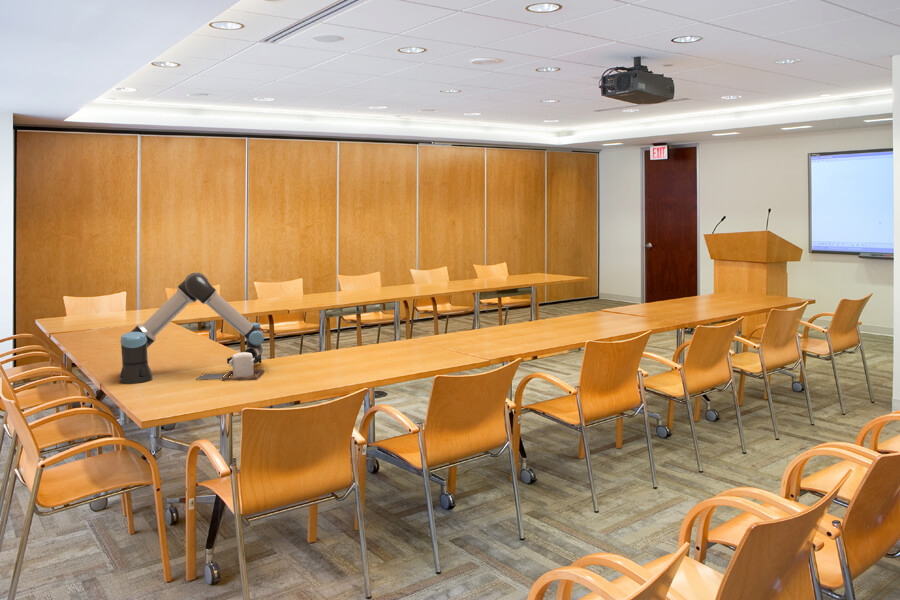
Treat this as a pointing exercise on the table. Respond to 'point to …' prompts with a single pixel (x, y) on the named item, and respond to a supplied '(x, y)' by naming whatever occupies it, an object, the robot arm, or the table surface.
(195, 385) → the table surface
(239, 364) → the photo printer
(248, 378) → the walnut frame
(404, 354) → the table surface
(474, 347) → the table surface
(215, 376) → the rubber mat
